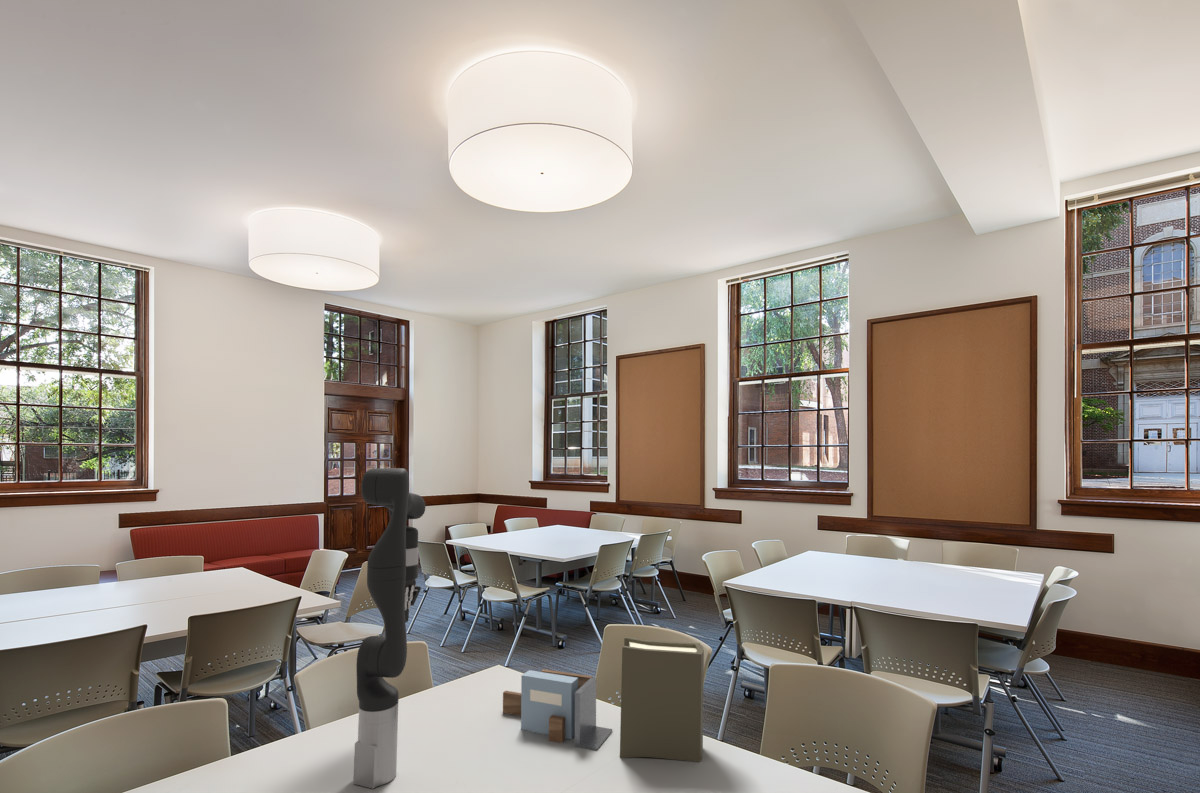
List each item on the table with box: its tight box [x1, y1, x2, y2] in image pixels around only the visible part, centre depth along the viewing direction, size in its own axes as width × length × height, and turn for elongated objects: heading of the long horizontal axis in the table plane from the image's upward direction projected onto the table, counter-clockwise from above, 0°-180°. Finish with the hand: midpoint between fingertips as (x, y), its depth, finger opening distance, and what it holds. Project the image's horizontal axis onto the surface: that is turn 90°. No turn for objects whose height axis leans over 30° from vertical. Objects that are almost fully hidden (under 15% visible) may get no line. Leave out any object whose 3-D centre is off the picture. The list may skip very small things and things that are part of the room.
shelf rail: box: [502, 668, 594, 744], centre depth 177 cm, size 12×29×14 cm, turn 69°
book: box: [619, 636, 705, 763], centre depth 163 cm, size 22×9×28 cm, turn 84°
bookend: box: [574, 677, 613, 751], centre depth 169 cm, size 12×6×14 cm, turn 159°
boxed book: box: [520, 669, 578, 740], centre depth 174 cm, size 5×16×15 cm, turn 67°
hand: (403, 622), depth 181 cm, fingers closed
